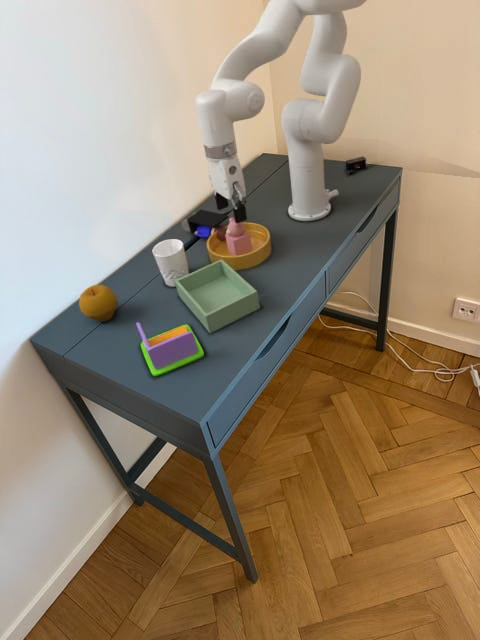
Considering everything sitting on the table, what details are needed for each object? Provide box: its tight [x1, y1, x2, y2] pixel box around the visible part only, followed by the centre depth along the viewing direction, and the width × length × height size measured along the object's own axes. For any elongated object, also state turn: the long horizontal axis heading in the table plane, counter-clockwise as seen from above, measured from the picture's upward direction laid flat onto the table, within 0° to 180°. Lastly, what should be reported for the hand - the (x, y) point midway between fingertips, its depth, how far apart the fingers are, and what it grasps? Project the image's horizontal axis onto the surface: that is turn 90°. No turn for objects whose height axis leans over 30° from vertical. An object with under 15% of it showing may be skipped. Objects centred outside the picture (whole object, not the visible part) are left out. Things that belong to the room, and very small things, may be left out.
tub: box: [175, 259, 261, 334], centre depth 110 cm, size 13×17×5 cm
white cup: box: [152, 238, 190, 288], centre depth 119 cm, size 8×8×10 cm
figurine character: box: [181, 209, 230, 241], centre depth 133 cm, size 7×8×15 cm
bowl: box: [206, 222, 273, 271], centre depth 125 cm, size 17×17×4 cm
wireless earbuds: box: [345, 156, 367, 175], centre depth 152 cm, size 5×7×3 cm, turn 102°
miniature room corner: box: [135, 321, 205, 377], centre depth 99 cm, size 12×12×7 cm
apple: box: [78, 284, 118, 322], centre depth 112 cm, size 9×9×9 cm
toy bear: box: [225, 216, 252, 256], centre depth 123 cm, size 5×5×10 cm
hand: (231, 214), depth 119 cm, fingers open, 9 cm apart
